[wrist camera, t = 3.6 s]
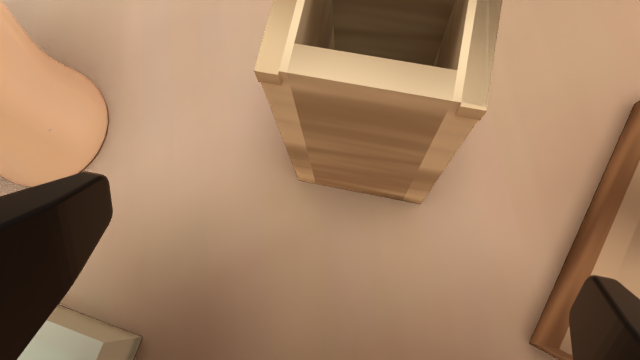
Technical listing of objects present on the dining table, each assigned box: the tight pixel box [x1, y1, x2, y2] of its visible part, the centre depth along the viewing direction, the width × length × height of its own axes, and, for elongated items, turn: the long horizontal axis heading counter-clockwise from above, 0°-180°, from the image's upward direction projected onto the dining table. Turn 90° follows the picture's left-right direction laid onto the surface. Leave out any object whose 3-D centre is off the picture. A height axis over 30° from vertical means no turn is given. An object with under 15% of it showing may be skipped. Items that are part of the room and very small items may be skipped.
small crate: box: [254, 0, 502, 204], centre depth 18 cm, size 6×6×11 cm
